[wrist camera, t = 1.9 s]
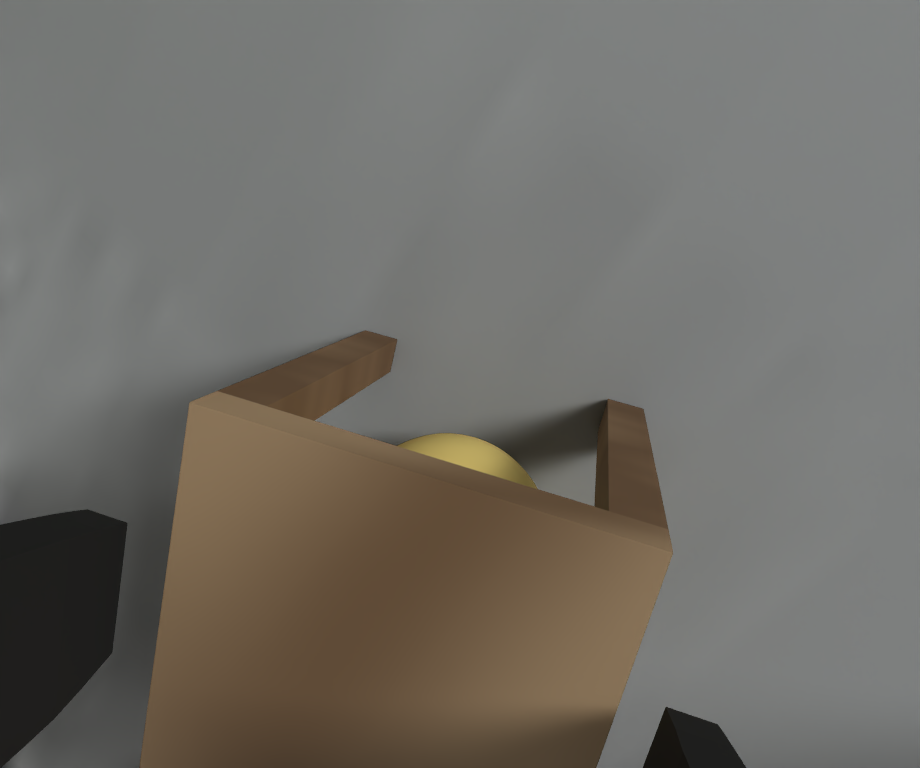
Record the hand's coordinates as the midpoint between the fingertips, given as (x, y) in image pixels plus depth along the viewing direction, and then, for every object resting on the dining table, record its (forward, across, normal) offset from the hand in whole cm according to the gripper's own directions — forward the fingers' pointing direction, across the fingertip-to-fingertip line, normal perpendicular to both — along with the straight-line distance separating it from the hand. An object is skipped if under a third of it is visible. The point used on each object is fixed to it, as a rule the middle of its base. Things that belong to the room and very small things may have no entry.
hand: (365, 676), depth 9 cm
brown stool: (+6, 0, 0) cm, 6 cm away
